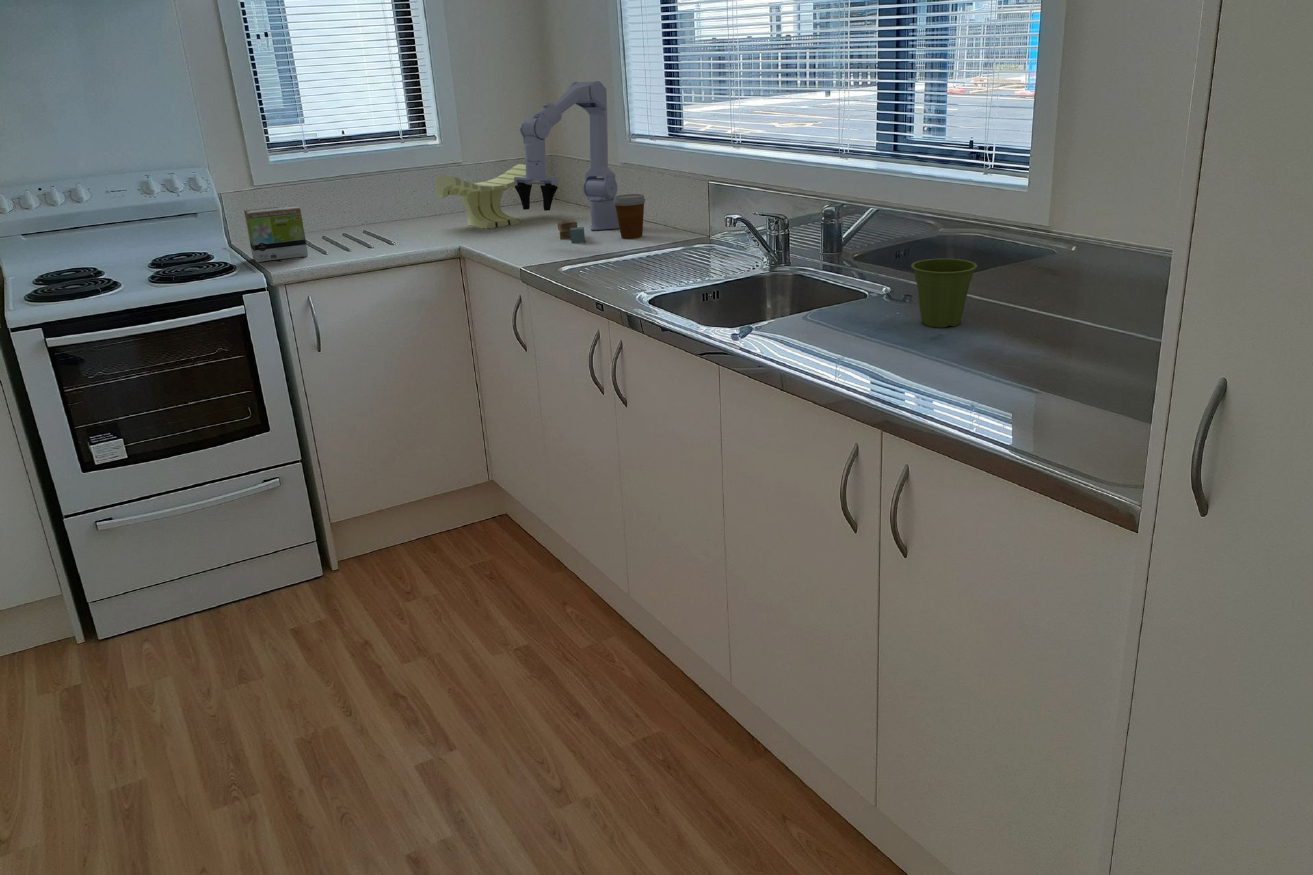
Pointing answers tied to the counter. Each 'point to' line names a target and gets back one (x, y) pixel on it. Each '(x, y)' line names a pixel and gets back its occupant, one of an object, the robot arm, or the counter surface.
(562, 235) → the bottom slab
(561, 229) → the top slab
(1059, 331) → the counter surface
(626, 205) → the disposable coffee cup
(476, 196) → the slatted curved stool
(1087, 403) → the counter surface
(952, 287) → the plant pot
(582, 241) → the cube
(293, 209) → the tea box
